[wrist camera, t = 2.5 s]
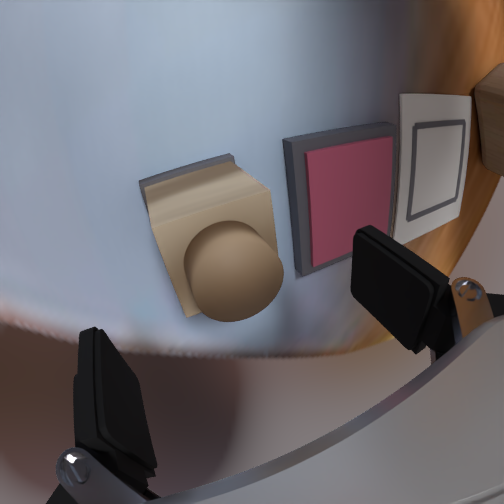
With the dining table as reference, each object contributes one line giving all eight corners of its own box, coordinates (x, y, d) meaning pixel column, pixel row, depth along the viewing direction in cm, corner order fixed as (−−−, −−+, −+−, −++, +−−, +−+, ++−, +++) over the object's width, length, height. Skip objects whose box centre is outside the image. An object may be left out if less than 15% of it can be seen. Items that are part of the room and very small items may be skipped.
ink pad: (282, 139, 16) (294, 143, 15) (385, 121, 17) (399, 125, 16) (295, 268, 21) (304, 279, 20) (381, 233, 23) (391, 241, 21)
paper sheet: (399, 93, 17) (402, 94, 16) (469, 96, 19) (472, 96, 19) (391, 248, 24) (393, 249, 24) (457, 215, 27) (459, 216, 26)
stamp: (138, 180, 14) (148, 251, 8) (228, 153, 15) (299, 201, 9) (165, 258, 17) (193, 353, 11) (243, 231, 18) (305, 308, 12)
